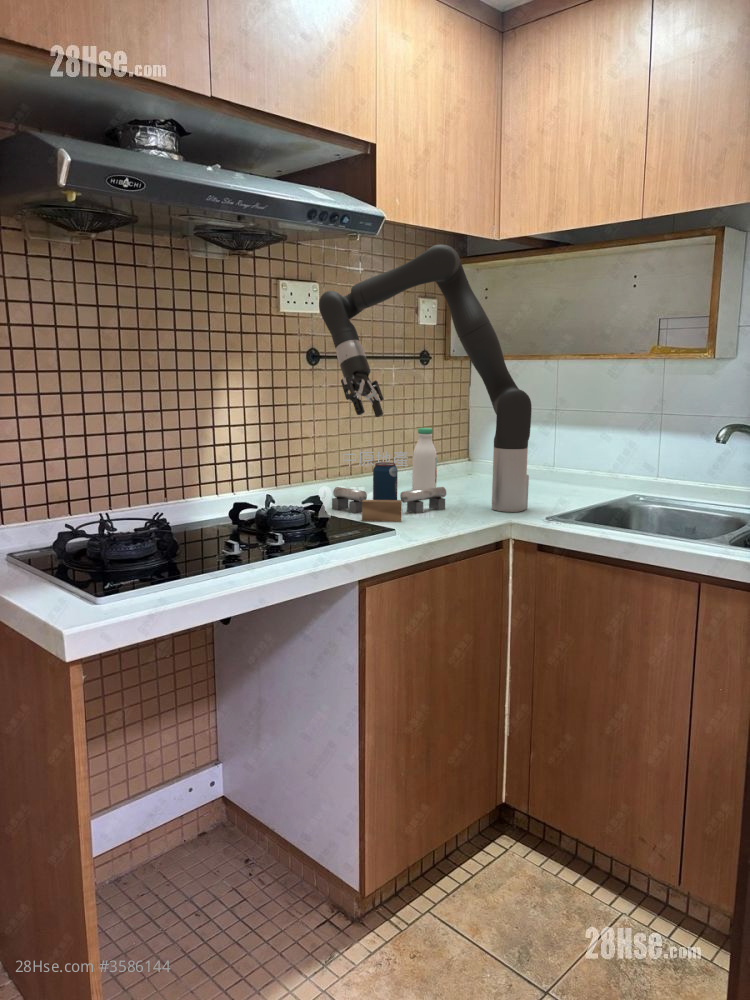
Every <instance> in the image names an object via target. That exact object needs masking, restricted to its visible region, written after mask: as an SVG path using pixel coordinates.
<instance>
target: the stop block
mask: <svg viewBox="0 0 750 1000" xmlns="http://www.w3.org/2000/svg"><path fill="white" fill-rule="evenodd" d="M402 503H403V502H402V500H401V499H399V500H398V499H397V500H373V499H366V500H363V501H362V513H361V522H395V523H396V522H399V523H400V522H402V512H403V511H402V507H403V506H402V505H403V504H402Z"/></svg>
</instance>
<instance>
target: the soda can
mask: <svg viewBox="0 0 750 1000" xmlns="http://www.w3.org/2000/svg"><path fill="white" fill-rule="evenodd" d="M374 464H375V465H374V467H373V469H372V500H398V474H399V473H398V471H399V470H398V468H397V466H396V462H387V461H385V462H384V461H383V462H381V461H380V462H375V463H374Z"/></svg>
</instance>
